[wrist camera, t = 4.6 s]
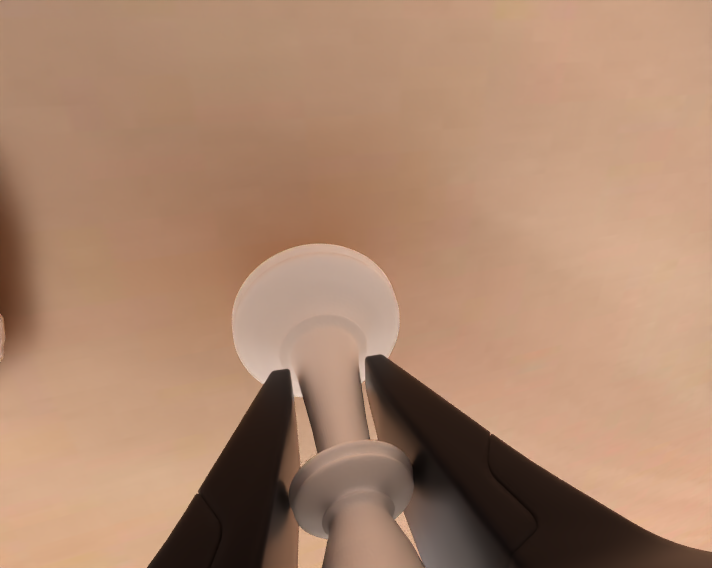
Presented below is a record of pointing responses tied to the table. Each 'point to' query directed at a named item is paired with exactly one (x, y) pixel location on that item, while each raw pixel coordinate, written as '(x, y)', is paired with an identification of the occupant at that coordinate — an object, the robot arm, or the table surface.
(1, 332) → the decorative stone
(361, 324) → the chess piece
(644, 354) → the table surface
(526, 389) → the table surface
